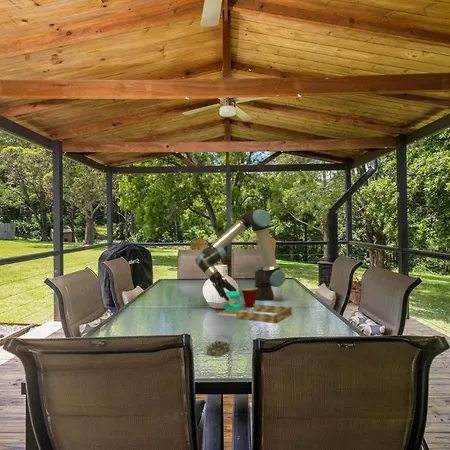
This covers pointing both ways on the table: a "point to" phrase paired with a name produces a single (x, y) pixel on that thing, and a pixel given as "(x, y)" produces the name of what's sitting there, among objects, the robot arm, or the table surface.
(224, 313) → the beige mat
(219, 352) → the rough brown lump
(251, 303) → the plastic cup
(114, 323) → the table surface
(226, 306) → the donuts
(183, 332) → the table surface
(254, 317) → the wooden u-shaped frame
